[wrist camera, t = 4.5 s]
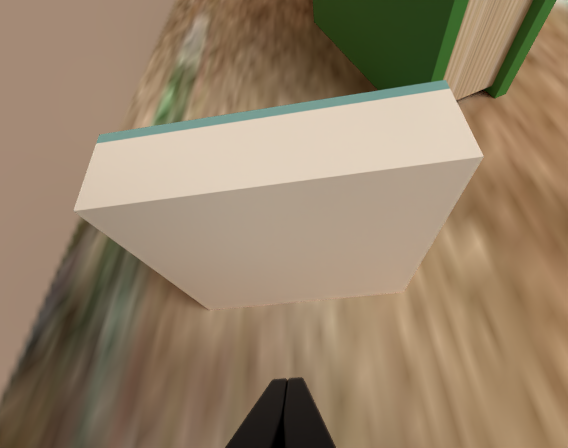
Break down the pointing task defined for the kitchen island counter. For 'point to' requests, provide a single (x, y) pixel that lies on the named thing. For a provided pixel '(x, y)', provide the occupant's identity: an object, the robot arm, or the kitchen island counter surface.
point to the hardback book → (435, 40)
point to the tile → (286, 195)
